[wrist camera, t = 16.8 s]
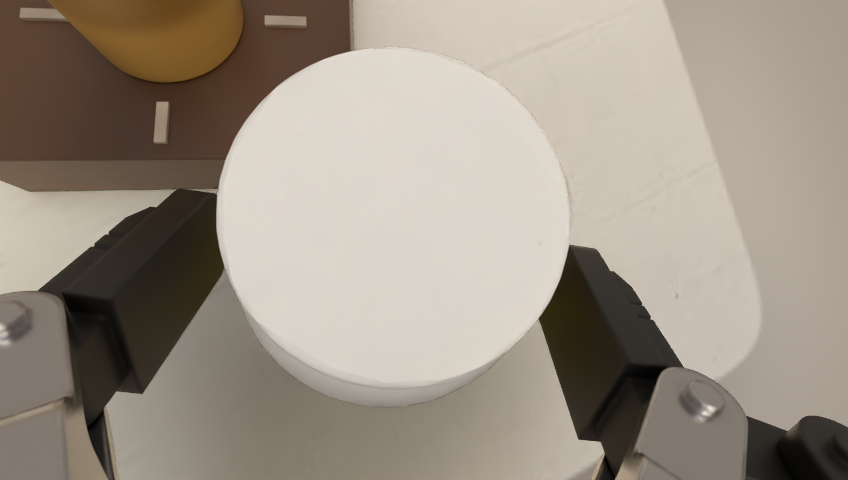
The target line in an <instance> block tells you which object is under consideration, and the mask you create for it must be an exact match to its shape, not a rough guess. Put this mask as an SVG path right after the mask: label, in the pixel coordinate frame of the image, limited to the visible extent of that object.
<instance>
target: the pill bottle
mask: <svg viewBox="0 0 848 480" xmlns="http://www.w3.org/2000/svg"><path fill="white" fill-rule="evenodd" d="M216 230H217V237H218V243H219V248H220V252H221V256H222V259H223V263H224V266H225V270H226V273H227V275H228V278H229V280H230V283H231V285H232V288H233V290H234V292H235V294H236V296H237V297H238V299H239V301H240V303H241V305H242V308H243V310H244V313H245V315H246V318H247V320H248V322H249V324H250V326H251V328H252V329H253V331H254V333H255V335H256V336H257V338H258V340H259V341H260V343H261V344H262V346H263V347H264V348H265V349H266V350H267V352H268V353H269V354H270V355H271V356H272V357H273V358H274V359H275V361H276V362H277V363H278V364H279V365H280V366H281V367H282V368H283V369H285V370H286V371H287V372H288V373H290V374H291V375H292V376H294V377H295V378H296V379H298V380H299V381H300V382H302V383H304V384H305V385H307V386H309V387H311V388H312V389H314V390H316V391H318V392H320V393H322V394H325V395H327V396H329V397H332V398H335V399H338V400H342V401H345V402H349V403H353V404H358V405H363V406H374V407H401V406H410V405H415V404H420V403H424V402H429V401H432V400H435V399H438V398H441V397H443V396H445V395H447V394H449V393H451V392H453V391H455V390H458V389H460V388H462V387H463V386H465V385H467V384H469V383H470V382H472V381H474V380H475V379H477V378H478V377H479V376H481V375H482V374H483V373H485V372H486V371H487V370H488V369H489V368H491V367H492V366H493V365H494V364H495V363H496V362H497V361H498V360H499V359H500V358H501V357H502V356H503V355H504V354H505V353H506V351H508V350H509V349H510V348H511V347H513V346H514V345H515V344H516V343H517V342H518V341H519V340H520V339H522V338H523V337H524V336H525V334H526V333H527V332H528V331H529V330H530V329H531V327H532V326H533V325H534V323H535V322H536V321H537V320H538V318H539V317H540V316H541V315H542V313H543V311H544V310H545V308H546V307H547V305H548V303H549V302H550V300H551V298H552V296H553V294H554V292H555V290H556V287H557V285H558V283H559V281H560V278H561V275H562V271H563V268H564V264H565V261H566V257H567V252H568V248H569V240H570V204H569V198H568V191H567V185H566V182H565V179H564V175H563V172H562V169H561V165H560V162H559V160H558V158H557V156H556V153H555V151H554V149H553V147H552V145H551V143H550V141H549V139H548V138H547V136H546V134H545V133H544V131H543V130H542V128H541V126H540V125H539V124H538V122H537V121H536V119H535V118H534V117H533V115H532V114H531V113H530V112H529V111H528V110H527V109H526V107H525V106H524V105H523V104H522V103H521V102H520V101H519V100H518V99H517V98H516V97H515V96H514V95H513V94H512V93H510V92H509V91H508V90H507V89H506V88H505V87H503V86H502V85H501V84H500V83H498V82H497V81H495V80H494V79H492V78H491V77H489V76H488V75H486V74H484V73H483V72H481V71H479V70H478V69H476V68H474V67H472V66H470V65H468V64H466V63H464V62H462V61H459V60H457V59H454V58H451V57H448V56H445V55H442V54H438V53H435V52H431V51H428V50H422V49H416V48H407V47H376V48H368V49H359V50H355V51H351V52H346V53H342V54H339V55H335V56H332V57H329V58H326V59H323V60H321V61H319V62H317V63H315V64H312V65H310V66H308V67H306V68H304V69H303V70H301V71H299V72H297V73H296V74H294V75H292V76H291V77H289V78H288V79H287V80H285V81H284V82H282V83H281V84H280V85H279V86H277V87H276V88H275V89H274V90H273V91H272V92H271V93H270V94H269V95H268V96H267V97H266V98H265V99H264V100H262V101H261V102H260V104H259V105H258V106H257V107H256V108H255V110H254V111H253V112H252V113H251V115H250V116H249V117H248V118H247V120H246V121H245V122H244V124H243V126H242V127H241V129H240V131H239V132H238V134H237V136H236V137H235V139H234V141H233V144H232V146H231V148H230V151H229V153H228V155H227V158H226V160H225V163H224V167H223V170H222V173H221V177H220V181H219V188H218V194H217V210H216Z"/></svg>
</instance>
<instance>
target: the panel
mask: <svg viewBox="0 0 848 480" xmlns="http://www.w3.org/2000/svg"><path fill="white" fill-rule="evenodd" d="M241 4H242V8H243V28H242V32H241V36H240V38H239V41H238V43H237V45H236V47H235V48H234V50H233V51H232V52H231V54H230V55H229V56H228V57H227V58H226V59H225V60H224V61H223V62H222V63H221V64H220V65H218V66H217V67H216V68H214V69H213V70H211V71H209V72H208V73H205V74H203V75H201V76H199V77H196V78H193V79H190V80H185V81H180V82H154V81H148V80H144V79H140V78H137V77H134V76H132V75H129V74H127V73H125V72H123V71H121V70H120V69H118V68H117V67H116V66H114V65H113V64H112V63H111V62H110V61H108V60H107V59H106V58H105V57H104V56H103V55H102V54H101V53H100V52H99V51H98V50H97V49H96V48H95V47H94V46H93V45H92V44H91V43H90V42H89V41H88V40H87V39H86V38H85V37H84V36H83V35H82V34H81V33H80V32H79V31H78V30H77V29H76V28H75V27H74V26H73V25H72V24H71V23H70V22H69V21H68V20H67V19H66V18H65V17H64V16H63V15H62V14H60V13H59V12H58V11H57V10H56V9H55V8H54V7H53V6H52V5H51V4H50V3H49V2H48V1H47V0H0V180H1V181H3V182H6V183H9V184H11V185H14V186H16V187H19V188H22V189H24V190H27V191H78V190H139V189H200V188H219V181H220V177H221V173H222V170H223V167H224V163H225V160H226V158H227V155H228V153H229V151H230V148H231V146H232V144H233V141H234V139H235V137H236V136H237V134H238V132H239V131H240V129H241V127H242V126H243V124H244V122H245V121H246V120H247V118H248V117H249V116H250V115H251V113H252V112H253V111H254V110H255V108H256V107H257V106H258V105H259V104H260V102H261V101H262V100H264V99H265V98H266V97H267V96H268V95H269V94H270V93H271V92H272V91H273V90H274V89H275V88H276V87H277V86H279V85H280V84H281V83H282V82H284V81H285V80H287V79H288V78H289V77H291V76H292V75H294V74H296V73H297V72H299V71H301V70H303V69H304V68H306V67H308V66H310V65H312V64H315V63H317V62H319V61H321V60H323V59H326V58H329V57H332V56H335V55H339V54H342V53H346V52H351V51H354V33H353V0H241Z"/></svg>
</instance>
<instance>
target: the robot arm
mask: <svg viewBox="0 0 848 480" xmlns="http://www.w3.org/2000/svg"><path fill="white" fill-rule="evenodd" d="M216 210H217V195H216V194H214V193H208V192H200V191H193V190H186V189H177V190H176V191H174V192H173V193H172V194H171V195H170V196H169V197H168V198H166V199H165V200H164V201H163V202H162V203H161V204H160V205H159V206H157V207H156V208H155V207H149V208H147V209H144V210H142V211H140V212H138V213H135V214H133V215H131V216H128V217H126V218H125V219H124V220H122V221H121V222H120V223H119V224H118V225H116V226H115V227H114V228H113V229H112V230H110V231H109V235H104V236H103V237H102V238H101V239H100V240H98V241H97V242H96V243H95V246H94V247H90V248H89V249H87V250H86V251H85V252H84V253H83V254H81V255H80V256H79V257H78V258H77V259H75V260H74V261H73V262H72V263H71V264H69V265H68V266H67V267H66V268H65V269H63V270H62V271H61V272H60V273H59V274H57V275H56V276H55V277H54V278H52V279H51V280H50V281H49V282H48V283H46V284H45V285H44V286H43V287H42V288H40V289H39V290H38V291H20V292H12V293H7V294H2V295H0V480H119V474H118V468H117V462H116V456H115V450H114V444H113V438H112V432H111V426H110V420H109V414H108V411H107V409H106V405H107V403H108V402H109V401H110V399H111V398H112V397H113V395H114V394H115V392H116V391H119V392H129V393H138V394H143V392H144V391H145V389H146V388H147V386H148V385H149V383H150V382H151V380H152V379H153V377H154V376H155V374H156V373H157V371H158V370H159V368H160V367H161V365H162V364H163V362H164V361H165V359H166V358H167V356H168V355H169V353H170V352H171V350H172V349H173V347H174V346H175V344H176V343H177V341H178V340H179V338H180V337H181V335H182V334H183V332H184V331H185V329H186V328H187V326H188V325H189V323H190V322H191V320H192V319H193V317H194V316H195V314H196V313H197V311H198V310H199V308H200V307H201V305H202V304H203V302H204V301H205V299H206V298H207V296H208V295H209V293H210V292H211V290H212V289H213V287H214V286H215V284H216V283H217V281H218V280H219V278H220V277H221V275H222V272H223V270H224V263H223V259H222V256H221V252H220V248H219V243H218V237H217V230H216ZM650 318H651V316H650V315H649V313H648V311H647V310H646V308H645V307H644V306H642V302H641V301H640V299H639V298H638V296H637V295H636V293H635V291H634V290H633V288H632V287H631V286H630V285H629V284H628V283H627V282H625V281H624V280H623V279H622V278H621V277H620V276H619V275H617V274H616V273H615V272H613V271H610V270H609V268H608V266H607V265H606V263H605V262H604V260H603V258H602V257H601V255H600V253H599V252H598V251H597V250H596V249H594V248H588V247H581V246H574V245H569V248H568V252H567V257H566V261H565V264H564V268H563V271H562V275H561V278H560V281H559V283H558V285H557V287H556V290H555V292H554V294H553V296H552V298H551V300H550V302H549V303H548V305H547V307H546V308H545V310H544V311H543V313H542V315H541V316H540V317H539V320H540V323H541V326H542V329H543V332H544V336H545V339H546V342H547V345H548V348H549V351H550V354H551V357H552V360H553V363H554V366H555V369H556V372H557V375H558V378H559V382H560V385H561V388H562V391H563V394H564V397H565V400H566V403H567V406H568V409H569V412H570V415H571V418H572V421H573V424H574V428H575V431H576V434H577V437H578V439H579V440H589V441H599V442H601V444H602V446H603V449H604V453H603V454H602V456H601V457H600V459H599V460H598V462H597V465H596V467H595V470H594V472H593V475H592V477H591V480H848V427H846V426H844V425H842V424H840V423H837V422H835V421H833V420H830V419H827V418H823V417H819V416H806V417H804V418H802V419H801V420H800V421H799V422H798V423H797V424H796V425H795V426H793V427H792V428H791V429H790V430H789V431H786V430H783V429H780V428H778V427H775V426H772V425H770V424H767V423H764V422H762V421H759V420H756V419H753V418H751V417H748V416H746V415H745V413H744V411H743V409H742V407H741V406H740V404H739V403H738V402H737V401H736V400H735V398H734V397H733V396H732V395H731V394H730V393H729V392H728V391H727V390H726V389H724V388H723V387H722V386H721V385H719V384H718V383H716V382H715V381H714V380H712V379H710V378H709V377H707V376H705V375H703V374H701V373H699V372H696V371H694V370H691V369H687V368H684V367H683V365H682V364H681V362H680V361H679V359H678V358H677V356H676V355H675V353H674V351H673V350H672V348H671V347H670V345H669V344H668V342H667V341H666V339H665V338H664V336H663V335H662V333H661V331H660V330H659V328H658V327H657V325H656V324H655V322H654V321H653V320H651V319H650Z"/></svg>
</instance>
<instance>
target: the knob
mask: <svg viewBox="0 0 848 480" xmlns="http://www.w3.org/2000/svg"><path fill="white" fill-rule="evenodd" d="M47 1H48V2H49V3H50V4H51V5H52V6H53V7H54V8H55V9H56V10H57V11H58V12H59V13H60V14H62V15H63V16H64V17H65V18H66V19H67V20H68V21H69V22H70V23H71V24H72V25H73V26H74V27H75V28H76V29H77V30H78V31H79V32H80V33H81V34H82V35H83V36H84V37H85V38H86V39H87V40H88V41H89V42H90V43H91V44H92V45H93V46H94V47H95V48H96V49H97V50H98V51H99V52H100V53H101V54H102V55H103V56H104V57H105V58H106V59H107V60H108V61H110V62H111V63H112V64H113V65H114V66H116V67H117V68H118V69H120V70H121V71H123V72H125V73H127V74H129V75H132V76H134V77H137V78H140V79H144V80H148V81H154V82H180V81H185V80H190V79H193V78H196V77H199V76H201V75H203V74H205V73H208V72H209V71H211V70H213V69H214V68H216V67H217V66H218V65H220V64H221V63H222V62H223V61H224V60H225V59H226V58H227V57H228V56H229V55H230V54H231V52H232V51H233V50H234V48H235V47H236V45H237V43H238V41H239V38H240V36H241V32H242V28H243V8H242V4H241V0H47Z"/></svg>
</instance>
